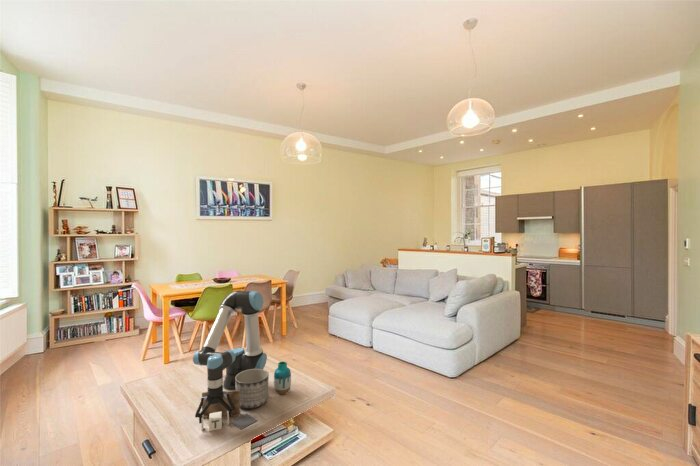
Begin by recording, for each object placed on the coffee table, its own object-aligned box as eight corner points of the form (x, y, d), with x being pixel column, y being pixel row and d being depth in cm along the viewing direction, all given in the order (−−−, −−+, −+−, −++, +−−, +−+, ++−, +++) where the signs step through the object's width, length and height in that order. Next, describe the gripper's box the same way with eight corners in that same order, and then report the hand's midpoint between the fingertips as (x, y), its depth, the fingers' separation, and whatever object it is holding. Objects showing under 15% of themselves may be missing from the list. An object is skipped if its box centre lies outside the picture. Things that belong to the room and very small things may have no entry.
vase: (287, 397, 203) (287, 367, 202) (271, 396, 205) (271, 365, 204) (293, 389, 213) (293, 360, 212) (278, 387, 215) (278, 359, 215)
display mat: (230, 422, 177) (230, 421, 177) (246, 414, 185) (246, 413, 185) (241, 429, 171) (241, 428, 171) (257, 420, 179) (257, 420, 179)
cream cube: (209, 424, 176) (209, 413, 176) (221, 422, 178) (221, 411, 178) (209, 431, 170) (209, 420, 170) (221, 428, 172) (221, 417, 172)
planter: (250, 415, 184) (250, 386, 184) (228, 405, 194) (228, 377, 194) (275, 399, 200) (275, 373, 200) (253, 391, 210) (253, 366, 210)
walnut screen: (200, 418, 181) (200, 395, 180) (204, 412, 187) (204, 390, 186) (238, 416, 183) (238, 393, 183) (240, 410, 189) (240, 388, 189)
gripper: (189, 393, 166) (189, 435, 166) (239, 384, 174) (239, 425, 175) (190, 386, 173) (191, 426, 173) (239, 378, 181) (239, 417, 182)
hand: (215, 426), depth 174 cm, fingers open, 12 cm apart
